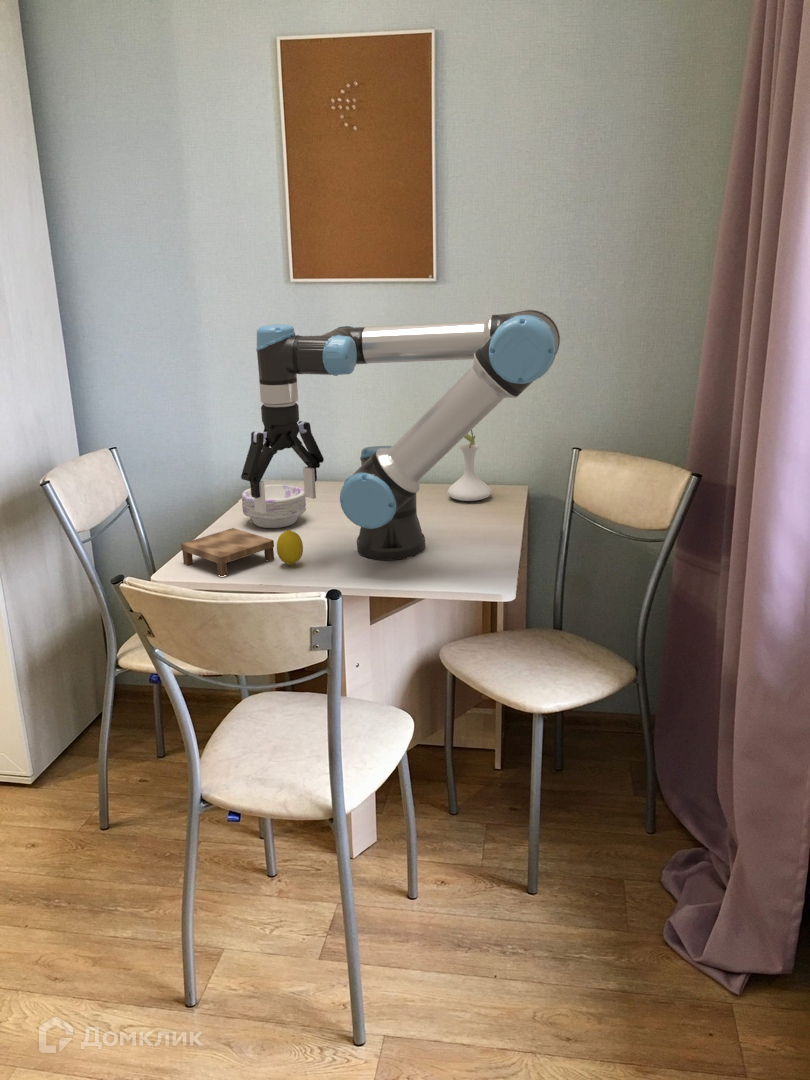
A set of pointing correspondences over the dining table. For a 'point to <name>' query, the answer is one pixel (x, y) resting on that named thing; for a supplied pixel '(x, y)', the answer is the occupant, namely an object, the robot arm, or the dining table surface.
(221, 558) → the footstool
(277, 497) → the paper bowls
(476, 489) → the flower in vase
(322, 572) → the dining table surface
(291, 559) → the lemon
